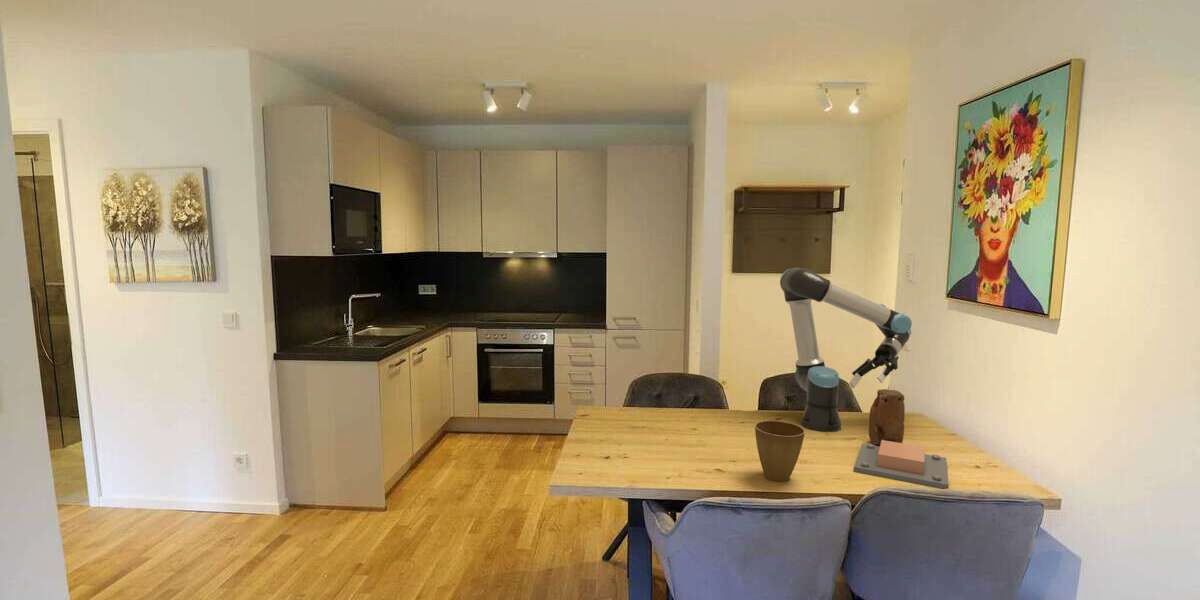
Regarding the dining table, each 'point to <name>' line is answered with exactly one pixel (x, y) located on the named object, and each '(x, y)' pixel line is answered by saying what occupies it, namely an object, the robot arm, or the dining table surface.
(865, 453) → the tower base
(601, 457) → the dining table surface
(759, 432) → the plant pot
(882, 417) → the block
